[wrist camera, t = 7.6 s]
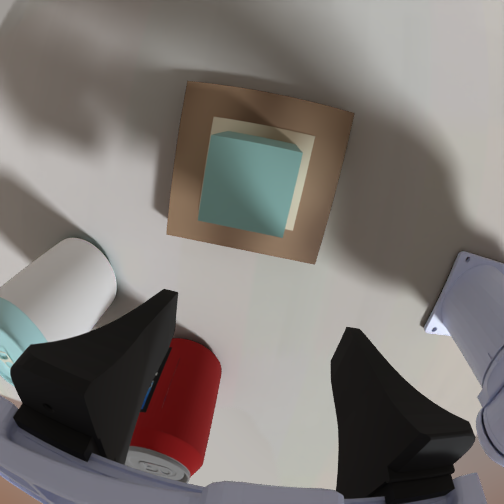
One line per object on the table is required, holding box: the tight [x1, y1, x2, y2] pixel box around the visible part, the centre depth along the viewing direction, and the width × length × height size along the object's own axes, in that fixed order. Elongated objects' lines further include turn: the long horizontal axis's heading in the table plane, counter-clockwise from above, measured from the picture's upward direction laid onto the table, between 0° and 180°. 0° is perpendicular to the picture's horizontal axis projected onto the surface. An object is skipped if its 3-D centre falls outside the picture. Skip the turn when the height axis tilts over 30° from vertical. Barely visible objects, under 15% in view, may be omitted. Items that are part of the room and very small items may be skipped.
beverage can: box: [125, 338, 222, 483], centre depth 22 cm, size 7×7×12 cm
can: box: [0, 238, 117, 387], centre depth 19 cm, size 7×7×12 cm
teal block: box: [198, 131, 303, 238], centre depth 16 cm, size 4×4×5 cm
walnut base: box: [167, 81, 354, 264], centre depth 19 cm, size 10×10×2 cm
